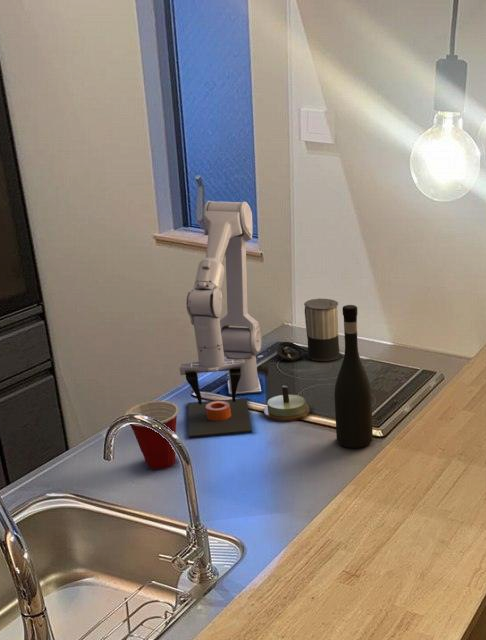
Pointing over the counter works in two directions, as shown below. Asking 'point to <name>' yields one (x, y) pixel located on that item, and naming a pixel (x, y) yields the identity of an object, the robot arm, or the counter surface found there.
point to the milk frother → (317, 332)
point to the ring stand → (286, 407)
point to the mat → (232, 425)
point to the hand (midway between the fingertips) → (217, 401)
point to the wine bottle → (352, 390)
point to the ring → (218, 410)
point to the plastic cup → (155, 433)
